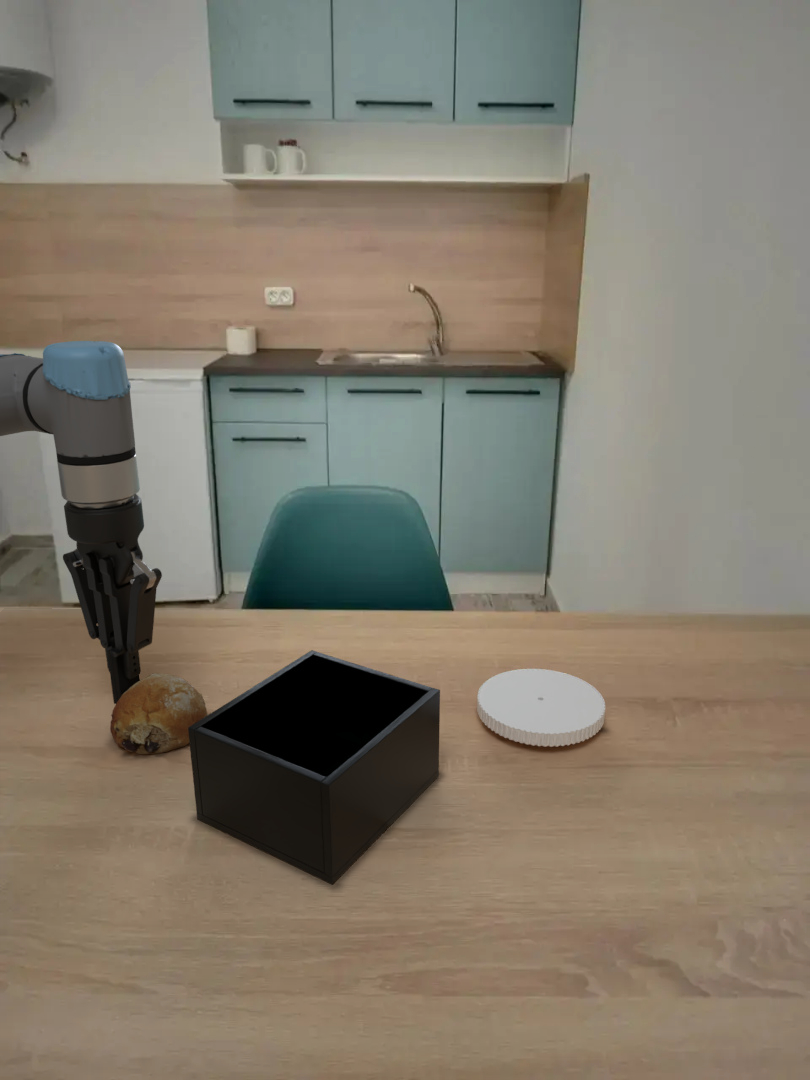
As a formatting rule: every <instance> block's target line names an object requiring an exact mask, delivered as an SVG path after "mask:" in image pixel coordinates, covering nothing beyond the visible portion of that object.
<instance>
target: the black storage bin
mask: <svg viewBox="0 0 810 1080" xmlns="http://www.w3.org/2000/svg"><path fill="white" fill-rule="evenodd" d="M440 718H441V690H440V689H439V688H435V687H431V686H428V685H425V684H421V683H419V682H415V681H412V680H408V679H406V678H402V677H399V676H396V675H393V674H390V673H387V672H384V671H380V670H377V669H373V668H371V667H367V666H365V665H361V664H357V663H354V662H352V661H348V660H345V659H341V658H339V657H335V656H331V655H330V654H329V655H328V654H325V653H322V652H320V651H317V650H312V649H311V650H309V651H308V652H306V653H305V654H303V655H301V656H299V657H298V658H297V659H295V660H294V661H292V662H290V663H289V664H287V665H286V666H284V667H282V668H280V669H279V670H278V671H276V672H274V673H273V674H271V675H270V676H267V677H266V678H264V679H263V680H261V681H259V682H258V683H257V684H255V685H254V686H252V687H250V688H249V689H247V690H246V691H244V692H242V693H241V694H239V695H238V696H236V697H235V698H233V699H231V700H229V701H228V702H226V703H225V704H223V705H222V706H220V707H219V708H217V709H215V710H214V711H212V712H211V713H209V714H207V716H206V717H204V718H203V719H201V720H199V721H198V722H196V723H195V724H193V725H191V726H190V727H188V733H189V752H190V760H191V771H192V772H191V773H192V782H193V788H194V789H193V790H194V801H195V810H196V819H197V820H198V821H200V822H201V823H203V824H206V825H207V826H210V827H213V828H214V829H217V831H220V832H222V833H224V834H227V835H229V836H231V837H232V838H235V839H237V840H239V841H241V842H243V843H246V844H248V845H250V846H252V847H253V848H255V849H258V850H260V851H262V852H264V853H266V854H268V855H270V856H272V857H273V858H275V859H278V860H280V861H283V862H284V863H287V864H288V865H290V866H293V867H294V868H297V869H298V870H301V871H304V872H305V873H307V874H309V875H311V876H313V877H315V878H317V879H320V880H321V881H324V882H325V883H328V884H330V885H334V884H335V883H336V882H337V881H338V880H339V879H340V878H341V877H342V876H343V875H344V874H345V873H346V872H347V871H348V870H349V868H351V867H352V866H353V865H354V864H355V863H356V861H358V860H359V858H360V857H361V856H363V854H364V853H366V851H367V850H368V849H369V848H370V847H371V846H372V845H373V844H374V843H375V842H376V841H377V840H378V839H379V838H380V837H381V836H382V835H383V834H384V833H385V832H386V831H387V830H388V829H389V828H390V827H391V826H392V825H393V823H395V822H396V821H397V820H398V818H400V817H401V815H402V814H404V813H405V812H406V810H407V809H409V807H410V806H411V805H412V804H413V803H414V802H416V800H417V799H418V798H419V797H420V796H421V795H422V794H423V793H424V792H425V791H426V790H427V789H428V788H429V787H430V786H431V785H432V784H433V783H434V782H435V781H436V780H437V779H438V778H439V775H440V769H439V768H440V725H441V723H440V720H441V719H440Z"/></svg>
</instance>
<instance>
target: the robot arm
mask: <svg viewBox="0 0 810 1080" xmlns="http://www.w3.org/2000/svg"><path fill="white" fill-rule="evenodd" d="M131 388H132V387H131V382H130V379H129V376H128V369H127V364H126V360H125V353H124V350H123V349H122V348H121V347H120V346H119V345H118V344H116V343H114V342H112V341H103V340H98V341H95V340H93V341H92V340H73V341H62V342H61V341H60V342H55V343H52V344H48V345H46V346H45V347H44V349H43V350H42V357H36V356H32V355H25V354H24V353H17V352H13V353H10V354H9V353H8V354H7V353H6V354H4V353H3V354H1V353H0V437H4V436H8V435H9V436H10V435H14V434H19V433H25V432H37V433H38V432H39V433H44V434H49V435H52V436H53V440H54V446H55V453H56V463H57V470H58V471H57V472H58V478H59V487H60V494H61V497H62V499H63V500H65V501H66V503H65V504H64V505H63V508H64V509H63V511H64V517H65V525H66V533H67V536H68V538H70V539H71V540H72V541H74V542H76V548H75V549H74V550H71V551H69V552H66V553H63V555H62V560H63V562H64V565H65V566H66V568H67V570H68V572H69V573H70V575H71V579H72V582H73V586H74V589H75V593H76V596H77V599H78V603H79V606H80V609H81V612H82V615H83V619H84V623H85V626H86V630H87V634H88V636H89V637H90V639H92V640H95V639H98V640H99V641H100V645H101V647H102V648H103V649H104V651H105V658H106V659H105V660H106V665H107V670H108V672H109V676H110V684H111V692H112V698H113V699H112V700H113V704H114V705H116V703H117V702H118V700H119V699H120V698H121V696H122V695H123V693H124V692H126V691H127V690H128V689H129V688H130V687H132V686H133V685H134V684H135V683H137V682H139V681H140V680H141V679H140V675H141V672H142V670H141V669H142V668H141V661H140V652H139V651H141V650H142V649H143V648H146V647H148V646H150V645H151V644H153V637H154V636H153V635H154V634H153V633H154V623H155V611H156V599H157V588H158V586H159V583H160V581H161V580H162V577H163V573H162V571H161V569H159V567H155V568H152V569H151V568H150V567H149V566H148V565H147V564H146V562H145V561H143V559H144V555H143V551H142V549H141V546H140V543H139V538H140V535H141V533H142V532H143V531H144V528H145V520H144V511H143V502H142V498H141V497H140V496H139V495H138V493H139V492H140V489H141V487H140V477H139V470H138V463H137V462H138V461H137V454H136V452H137V451H136V440H135V439H136V438H135V431H134V430H135V429H134V420H133V410H132V400H131Z"/></svg>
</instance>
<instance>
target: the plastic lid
mask: <svg viewBox="0 0 810 1080" xmlns="http://www.w3.org/2000/svg"><path fill="white" fill-rule="evenodd" d="M476 711H477V715H478V717H479V719H480V721H481V722H482V723H484V726H486V727H487V728H488V729H490V731H491V732H494V733H495V734H498V735H499V736H500V737H503V738H505V739H508V740H509V741H513V742H516V743H517V742H519V744H525V745H526V746H527V745H528V746H529V745H531V746H532V747H533V746H537V747H541V746H542V747H544V748H545V747H550V748H552V747H557V748H558V747H559V746H560V747H565V746H570V745H575V744H579V743H581V742H585V741H586V740H589V739H590V738H593V736H595V735H596V734H598V733H599V731H601V729H602V728H603V725H604V723H605V717H606V701H605V699H604V696H602V693H600V691H599V690H597V687H594V685H591V684H590V683H589V682H587V680H583V679H582V678H579V677H578V676H574V674H569V673H564V671H561V672H560V671H558V670H553V669H548V668H546V669H543V668H536V667H535V668H523V669H522V668H519V669H513V670H511V669H510V670H508V671H507V670H506V671H505V672H500V673H497V674H496V675H493V676H490V677H489V679H486V681H483V683H481V685H480V687H479V689H478V691H477V697H476Z"/></svg>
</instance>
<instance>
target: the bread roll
mask: <svg viewBox="0 0 810 1080" xmlns="http://www.w3.org/2000/svg"><path fill="white" fill-rule="evenodd" d="M114 705H115V706H114V707H113V709H112V712H111V715H110V716H111V720H110V725H109V726H110V728H109V730H110V735H111V736H112V738H113V740H114V741H115V743H116V744H117V745H118V746H119V747H121V748H122V749H125V750H126V751H127V752H130V753H136V754H137V755H154V754H155V755H156V754H163V753H167V752H170V751H174V750H177V749H179V748H184V747H186V746H188V745H190V743H189V733H188V727H190V726H191V725H193V724H195V723H196V722H198V721H199V720H201V719H203V718H204V717H206V716H207V715H208V710H207V705H206V702H205V699H204V696H203V693H201V692H199V691H198V690H197V689H196V688H195V686H193V685H192V684H191V683H190V682H188V681H187V680H185V679H184V678H182V677H180V676H178V675H174V674H170V673H169V674H168V673H159V672H154V673H151V674H149V675H148V676H146V677H144V678H142V679H140V681H139V682H137V683H135V684H134V685H133V686H132V687H130V688H129V689H128V690H127V691H126V692H124V693H123V695H122V696H121V698H120V699H119V700H118V702H117V703H116V704H114Z"/></svg>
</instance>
